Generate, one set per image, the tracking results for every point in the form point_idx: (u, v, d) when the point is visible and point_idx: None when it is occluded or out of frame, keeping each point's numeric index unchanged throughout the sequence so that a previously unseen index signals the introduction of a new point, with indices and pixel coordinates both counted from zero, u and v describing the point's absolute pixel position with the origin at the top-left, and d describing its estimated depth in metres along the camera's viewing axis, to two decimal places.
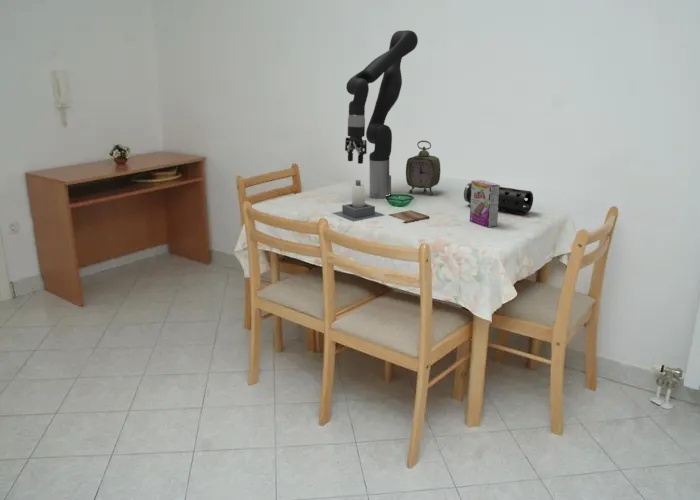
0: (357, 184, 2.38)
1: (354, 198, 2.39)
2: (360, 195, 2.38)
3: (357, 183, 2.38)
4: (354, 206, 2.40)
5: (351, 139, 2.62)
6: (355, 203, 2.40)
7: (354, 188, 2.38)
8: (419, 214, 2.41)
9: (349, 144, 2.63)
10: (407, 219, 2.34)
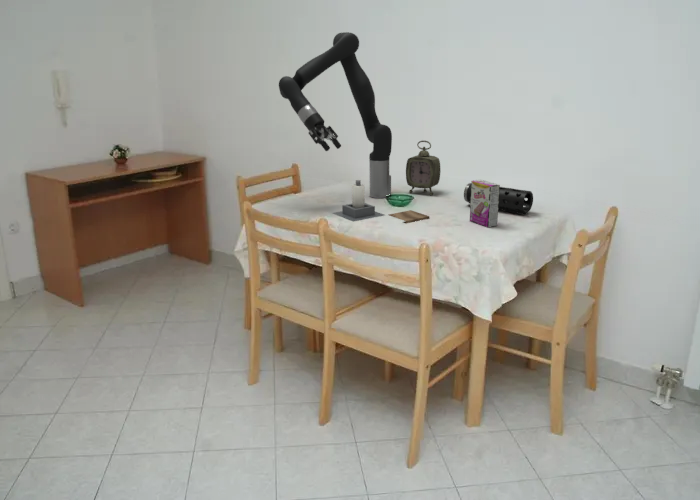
0: (357, 184, 2.38)
1: (354, 198, 2.39)
2: (360, 195, 2.38)
3: (357, 183, 2.38)
4: (354, 206, 2.40)
5: None
6: (355, 203, 2.40)
7: (354, 188, 2.38)
8: (419, 214, 2.41)
9: None
10: (407, 219, 2.34)
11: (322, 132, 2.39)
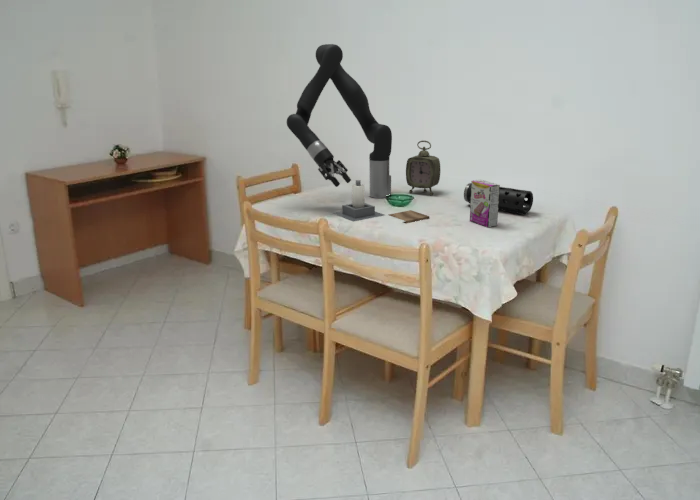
0: (357, 184, 2.38)
1: (354, 198, 2.39)
2: (360, 195, 2.38)
3: (357, 183, 2.38)
4: (354, 206, 2.40)
5: None
6: (355, 203, 2.40)
7: (354, 188, 2.38)
8: (419, 214, 2.41)
9: None
10: (407, 219, 2.34)
11: (332, 168, 2.41)
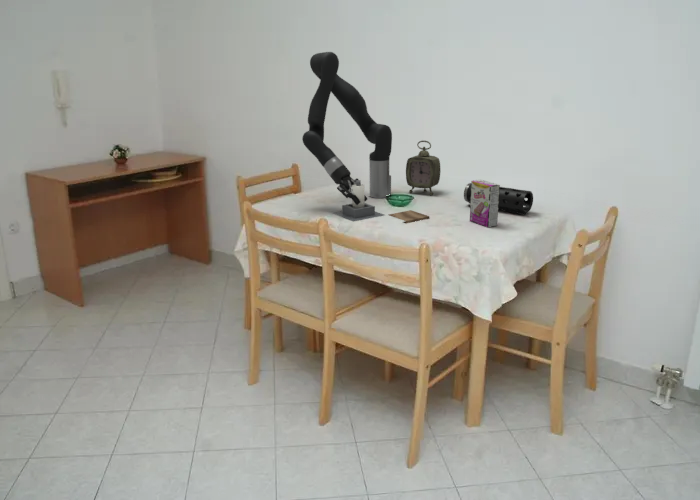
0: (357, 184, 2.38)
1: None
2: (361, 195, 2.38)
3: (357, 183, 2.38)
4: (354, 206, 2.40)
5: None
6: None
7: (354, 188, 2.38)
8: (419, 214, 2.41)
9: None
10: (407, 219, 2.34)
11: (350, 185, 2.39)
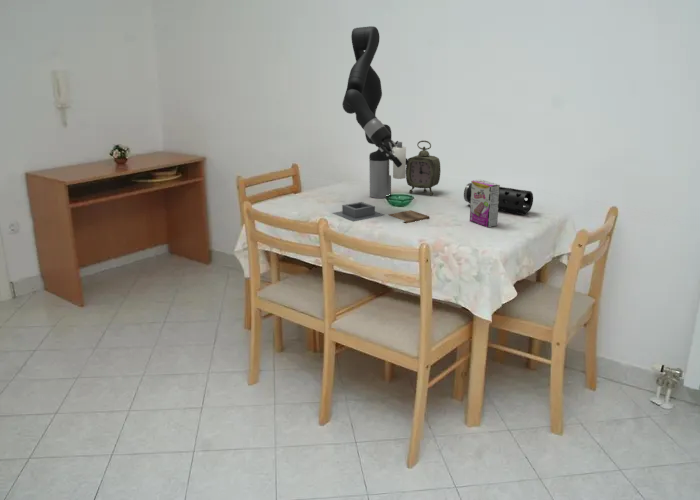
0: (398, 146, 2.30)
1: None
2: (402, 158, 2.30)
3: (399, 145, 2.30)
4: (395, 169, 2.32)
5: None
6: (396, 166, 2.32)
7: (395, 150, 2.30)
8: (419, 214, 2.41)
9: None
10: (407, 219, 2.34)
11: (391, 147, 2.31)
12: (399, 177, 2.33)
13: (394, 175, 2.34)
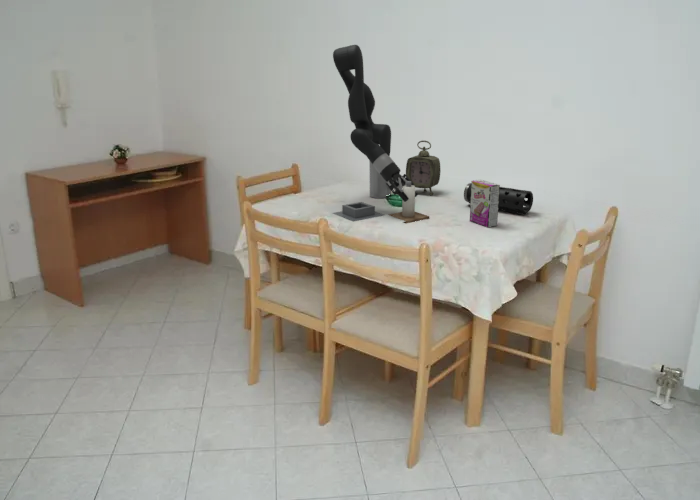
0: (408, 185, 2.35)
1: None
2: (411, 196, 2.35)
3: (408, 184, 2.35)
4: (404, 207, 2.37)
5: None
6: (405, 204, 2.36)
7: (405, 189, 2.35)
8: (419, 214, 2.41)
9: None
10: (407, 219, 2.34)
11: (399, 182, 2.35)
12: (408, 215, 2.37)
13: (403, 213, 2.38)
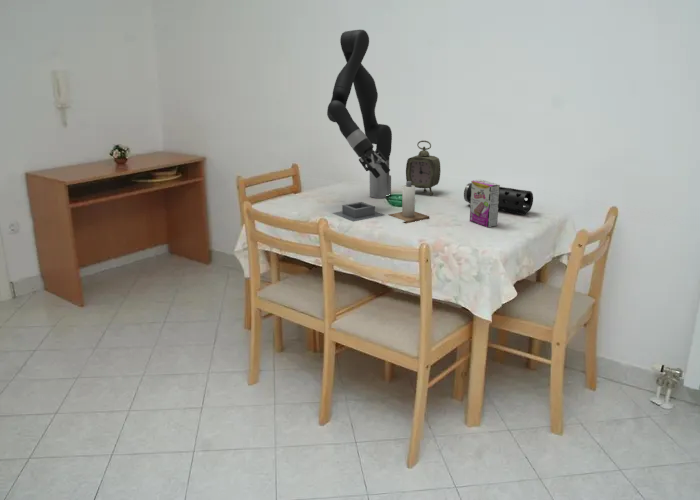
0: (408, 185, 2.35)
1: (405, 199, 2.36)
2: (411, 196, 2.35)
3: (408, 184, 2.35)
4: (404, 207, 2.37)
5: None
6: (405, 204, 2.36)
7: (405, 189, 2.35)
8: (419, 214, 2.41)
9: None
10: (407, 219, 2.34)
11: (372, 158, 2.38)
12: (408, 215, 2.37)
13: (403, 213, 2.38)
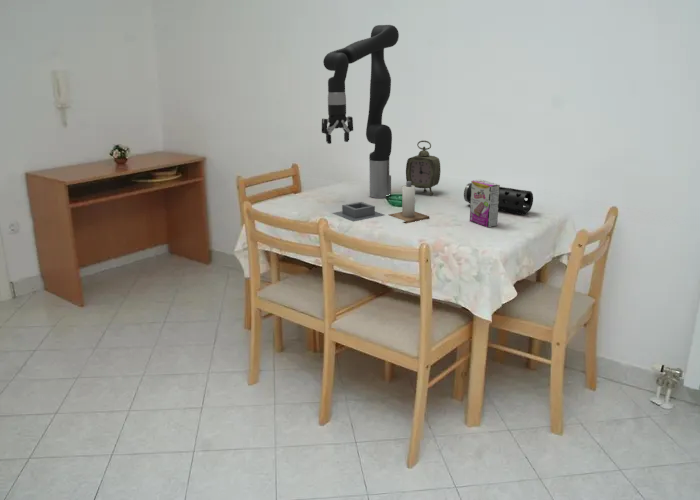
0: (408, 185, 2.35)
1: (405, 199, 2.36)
2: (411, 197, 2.35)
3: (408, 184, 2.35)
4: (404, 207, 2.37)
5: None
6: (405, 204, 2.36)
7: (405, 189, 2.34)
8: (419, 214, 2.41)
9: None
10: (407, 219, 2.34)
11: (334, 125, 2.45)
12: (408, 215, 2.37)
13: (403, 213, 2.38)
